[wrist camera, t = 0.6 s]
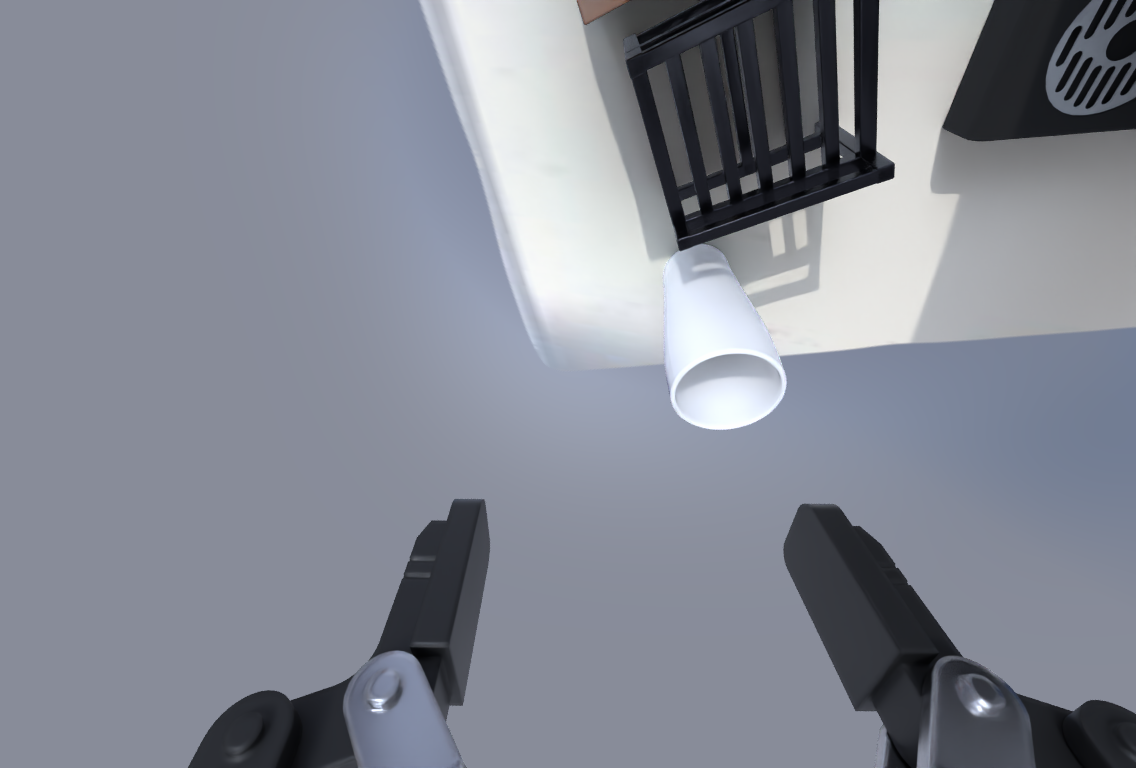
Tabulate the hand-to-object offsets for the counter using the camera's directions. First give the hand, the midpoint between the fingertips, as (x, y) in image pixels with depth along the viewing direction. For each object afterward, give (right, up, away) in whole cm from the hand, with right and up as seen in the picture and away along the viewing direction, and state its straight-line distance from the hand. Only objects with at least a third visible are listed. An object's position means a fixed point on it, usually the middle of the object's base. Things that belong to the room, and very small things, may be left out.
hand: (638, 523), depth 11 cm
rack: (+9, +23, +17) cm, 30 cm away
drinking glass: (+9, +13, +26) cm, 30 cm away
